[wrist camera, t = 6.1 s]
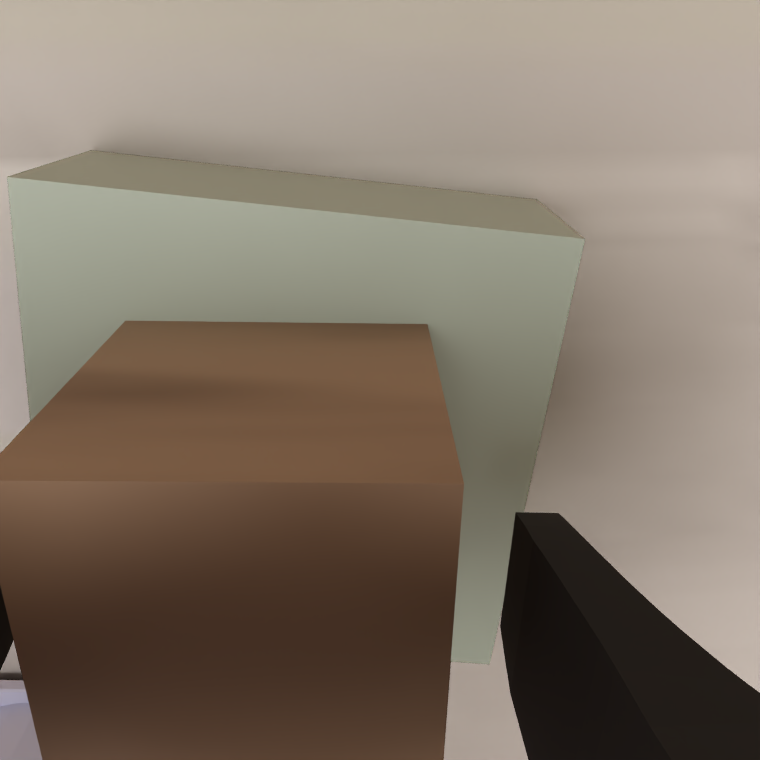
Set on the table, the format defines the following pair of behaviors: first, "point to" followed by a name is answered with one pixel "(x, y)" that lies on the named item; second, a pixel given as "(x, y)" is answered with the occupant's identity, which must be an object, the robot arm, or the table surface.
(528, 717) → the robot arm
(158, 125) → the table surface
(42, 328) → the sage block
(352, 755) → the walnut cube
